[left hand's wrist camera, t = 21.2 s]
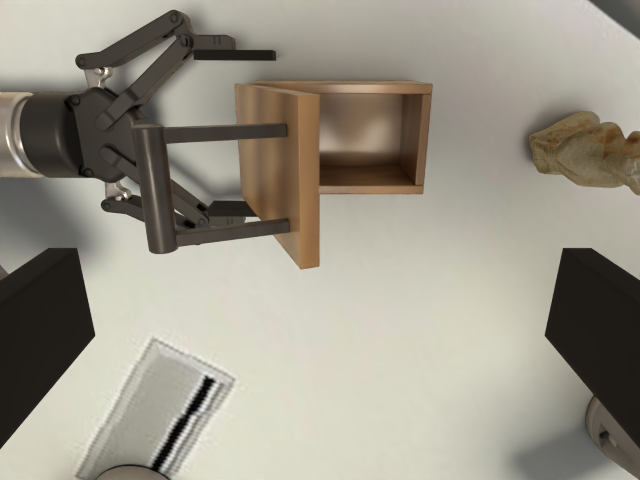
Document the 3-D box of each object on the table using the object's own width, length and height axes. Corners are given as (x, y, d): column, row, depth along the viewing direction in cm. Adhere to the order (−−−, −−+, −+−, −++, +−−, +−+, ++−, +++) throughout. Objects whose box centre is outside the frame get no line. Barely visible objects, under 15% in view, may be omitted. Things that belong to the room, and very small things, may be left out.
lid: (320, 94, 22) (125, 98, 19) (319, 266, 25) (154, 293, 22) (248, 83, 36) (130, 85, 33) (254, 195, 39) (147, 205, 36)
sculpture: (594, 155, 47) (709, 192, 33) (526, 177, 48) (610, 222, 34) (587, 101, 45) (707, 116, 31) (516, 124, 46) (602, 149, 32)
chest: (410, 80, 45) (432, 83, 36) (404, 171, 48) (423, 194, 39) (257, 80, 45) (242, 83, 36) (261, 171, 48) (249, 194, 39)
